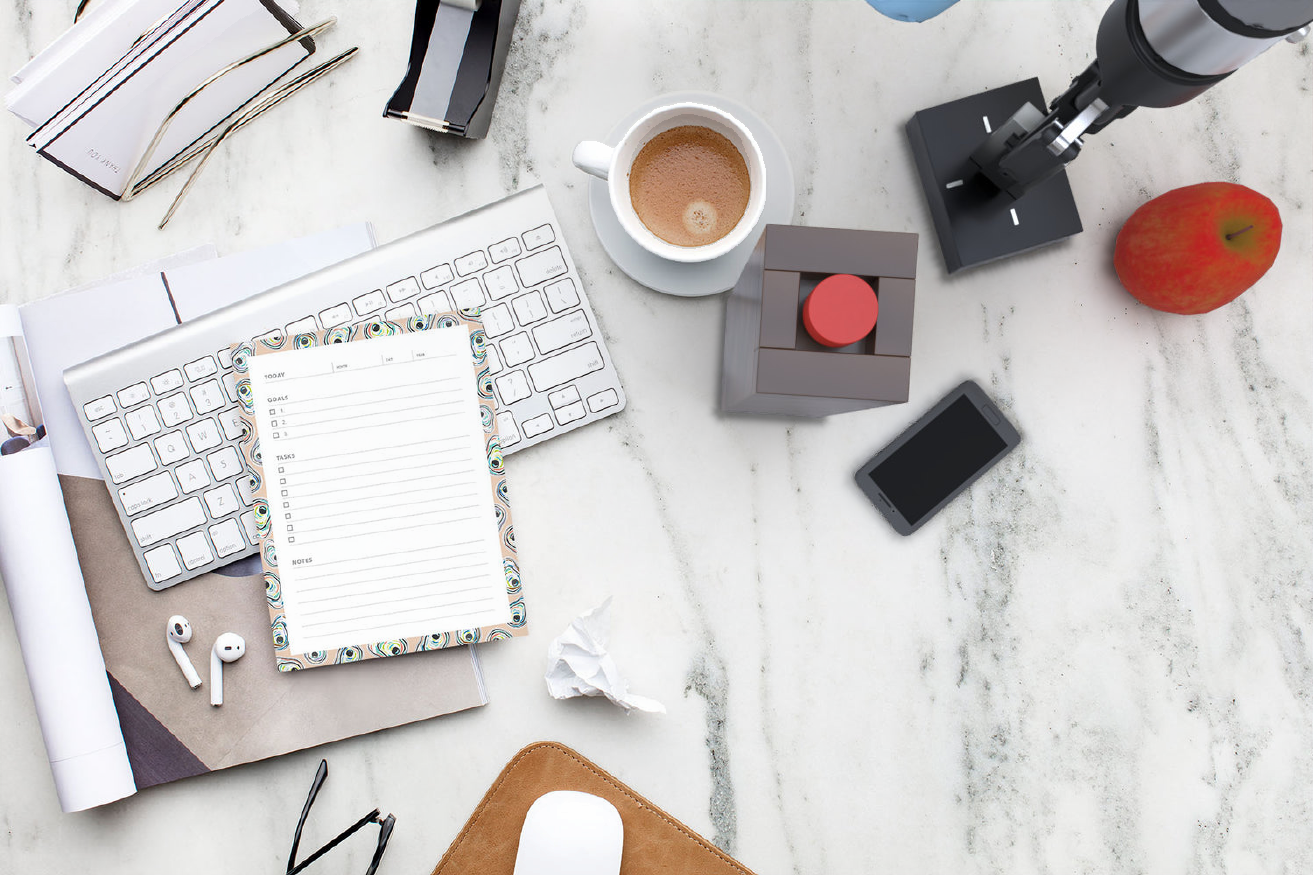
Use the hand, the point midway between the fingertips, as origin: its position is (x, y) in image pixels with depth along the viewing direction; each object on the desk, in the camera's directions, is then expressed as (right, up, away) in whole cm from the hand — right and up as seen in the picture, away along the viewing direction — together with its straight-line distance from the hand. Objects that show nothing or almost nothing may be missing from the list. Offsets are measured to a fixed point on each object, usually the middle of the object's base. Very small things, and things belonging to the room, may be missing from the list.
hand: (1004, 167), depth 66 cm
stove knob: (0, 0, +1) cm, 1 cm away
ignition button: (-19, -16, -21) cm, 32 cm away
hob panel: (0, 0, +4) cm, 4 cm away
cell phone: (-5, -25, +4) cm, 26 cm away
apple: (+16, -7, +4) cm, 18 cm away
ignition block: (-19, -16, +4) cm, 25 cm away
